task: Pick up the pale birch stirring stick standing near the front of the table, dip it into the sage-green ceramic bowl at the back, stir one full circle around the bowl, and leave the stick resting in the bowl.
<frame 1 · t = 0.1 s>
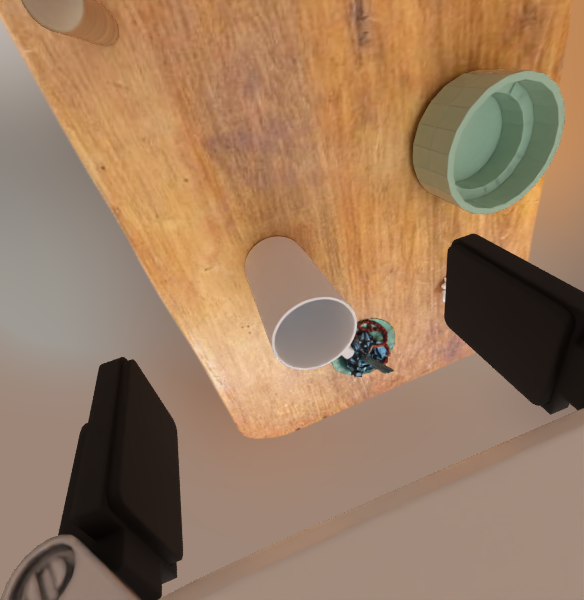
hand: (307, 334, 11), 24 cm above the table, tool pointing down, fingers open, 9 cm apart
mug: (285, 272, 38), on the table
dish: (362, 346, 47), on the table
bowl: (459, 137, 36), on the table
stick: (102, 27, 24), on the table
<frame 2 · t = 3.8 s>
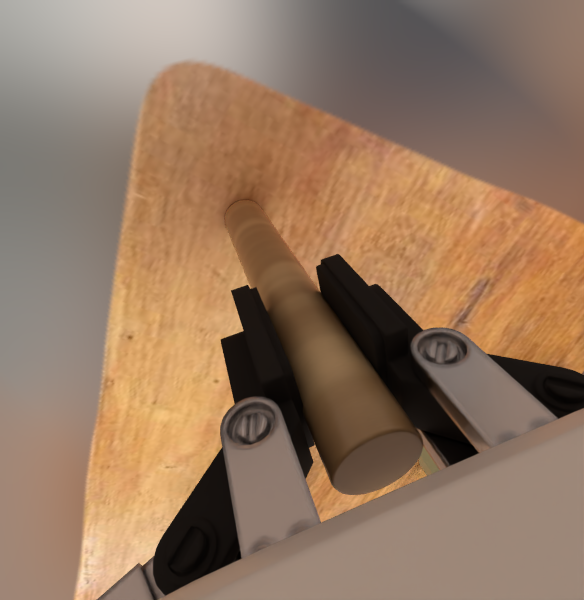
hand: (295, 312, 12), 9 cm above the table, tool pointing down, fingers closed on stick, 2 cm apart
bowl: (464, 428, 36), on the table
stick: (244, 219, 18), on the table, touching gripper
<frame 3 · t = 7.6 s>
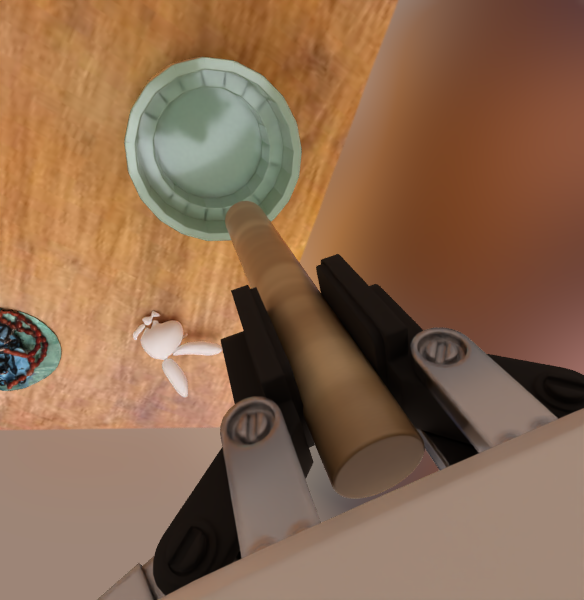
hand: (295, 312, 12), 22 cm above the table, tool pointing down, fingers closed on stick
dish: (3, 348, 33), on the table
rabbit figurine: (177, 335, 38), on the table
bowl: (209, 143, 29), on the table
stick: (244, 220, 18), point 14 cm above the table, touching gripper
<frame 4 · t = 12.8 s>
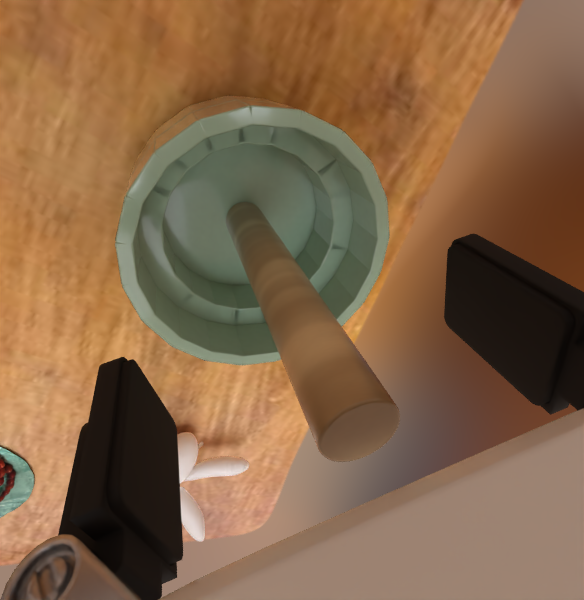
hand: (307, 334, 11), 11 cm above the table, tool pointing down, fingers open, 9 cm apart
rabbit figurine: (190, 444, 29), on the table
bowl: (240, 212, 20), on the table
stick: (244, 220, 19), point 1 cm above the table, touching bowl
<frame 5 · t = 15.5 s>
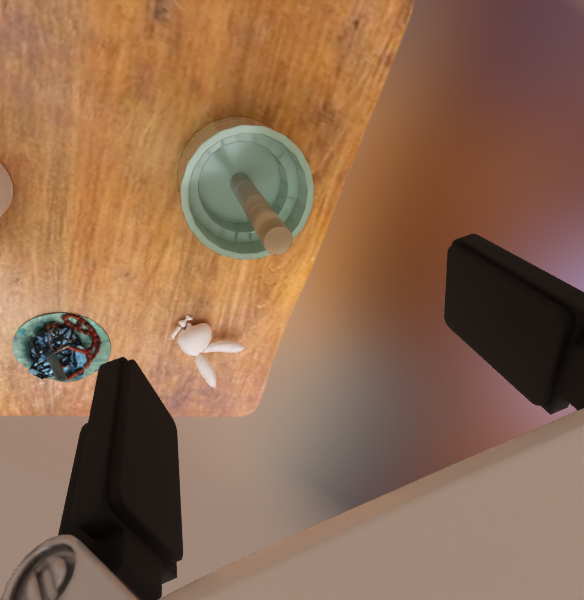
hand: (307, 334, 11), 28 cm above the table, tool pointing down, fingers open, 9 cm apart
dish: (64, 346, 40), on the table
rabbit figurine: (205, 335, 44), on the table
bowl: (238, 180, 36), on the table
stick: (240, 183, 35), point 1 cm above the table, touching bowl
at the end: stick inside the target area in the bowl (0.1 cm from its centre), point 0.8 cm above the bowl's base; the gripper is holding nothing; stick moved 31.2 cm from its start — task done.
